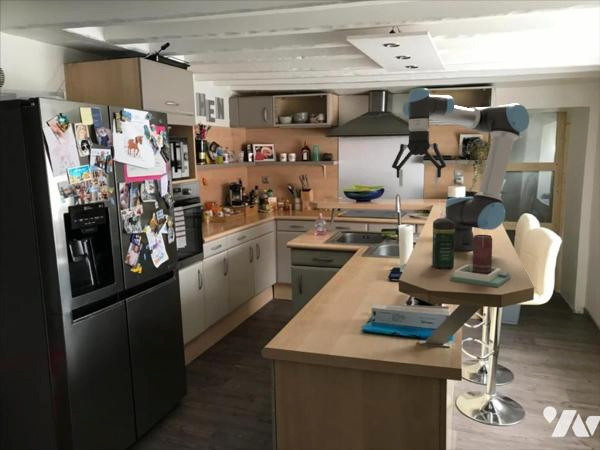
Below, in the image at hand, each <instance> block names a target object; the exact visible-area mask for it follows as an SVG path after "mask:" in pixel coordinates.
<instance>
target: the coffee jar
mask: <svg viewBox="0 0 600 450" xmlns="http://www.w3.org/2000/svg"><path fill="white" fill-rule="evenodd" d="M454 240H455V223H454V222H452V221H450V220H448V219H446V217H445V218H443V217H442V218H436V219H435V220H433V222H432V251H431V252H432V253H431V255H432V256H431V264H432V266H433V267H434V268H437V269H443V270H447V269H453V268H454V266H455V251H454Z"/></svg>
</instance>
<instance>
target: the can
mask: <svg viewBox="0 0 600 450" xmlns="http://www.w3.org/2000/svg"><path fill="white" fill-rule="evenodd" d="M492 257H493V236H492V235H489V234H476V235H474V238H473V250H472V265H473V270H472V273H478V274H486V275H488V274H490V273H491V268H492V265H493V264H492V263H493V259H492Z"/></svg>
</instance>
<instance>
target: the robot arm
mask: <svg viewBox="0 0 600 450" xmlns="http://www.w3.org/2000/svg"><path fill="white" fill-rule="evenodd" d="M408 94H409V95H408V100H406V101H405V102H404V103H403V105H402V113H403V116H405V117H406V118H407V119H408V130H409V131H408V144H405V143H400V146H399V151H398V153H397V155H396V156H395V159H394V160H393V163H392V165H391V168H393V169H395V170H396V178H397V179H398V183H399V184H398V186H399V188H401V187H403V184H404V183H403V182H404V181H403V179H404V177H403V172H404V170H403V169H402V168H403V166H404V165H405V164H406V163H407V161H408V160H410V158H411V157H412V156H424V155H425V156H426V157H427V159H429V161H430V162H431V163H432V164H433V165H434V166H435V167H436V169H434V187H435V188H436V187H437V188H438V187H439V179H440V178H441V177H442V169H444V168H446V167H447V163H446V162H445V160H444V158H443V156H442V154H441V152H440V151H439V145H438V142H433V143H430V131H428V130H429V129H430V121H436V122H442V123H447V124H453V125H459V126H463V127H464V128H466V129H468V130H472V131H477V132H480V133H481V132H482V133H486V134H487V133H488V134H489V135H490V136H491V138H492V139H491V143H490V146H489V147H490V148H489V151H488V155H487V157H486V162H485V166H484V171H483V173H482V174H483V175H482V176H481V177H482V178H481V182H480V186H479V189H478V192H476V193H475V194H474V195H473V196H464V197H452V198H448V199H447V200H446V201H445V218H446V219H448V220H450V221H452V222H454V223H455V240H454V252H467V251H473V238H474V236H475V235H474V232H473V231H474V230H473V228H475V229H481V230H484V231H486V230H489V231H491V230H492V231H494V230H496V229H497V228H498V227H500V226H502V224H503V223H504V220H505V217H506V208H505V206H504V204H502V203H503V199H502V198H501V193H502V188H503V185H504V180H505V178H506V173H507V169H508V164H509V161H510V159H511V158H510V157H511V154H512V150H513V146H514V142H515V141H517V140H518V139H519V138H520V133H523V132H524V131H526V129H527V128H528V126H529V124H530V115H529V112H528V110H527V108H526V107H525V106H524V105H523V104H520V103H508V104H500V105H499V104H498V105H490V106H483V107H474V106H471V107H469V108H467V107H464V106H460V105H459V106H458V105H456V102H455V99H454V97H452V96H451V95H446V94H431V92H430V89H429V88H424V87H423V88H421V87H420V88H413V89H410V91H409V93H408ZM430 147H431V149H432V150H433V151H434V153H435V155H436V157H437V159H435V157H433V155H432V154H431V153H430V152H429V149H430ZM406 149H408V153H407V154H406V155H405V157H404V158H403V159H402V160H401V157H402V156H403V154H404V152H405V150H406ZM400 160H401V162H400ZM437 160H438V161H439V163H438V161H437Z"/></svg>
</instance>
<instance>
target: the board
mask: <svg viewBox="0 0 600 450" xmlns="http://www.w3.org/2000/svg"><path fill="white" fill-rule="evenodd" d="M472 270H473V264H464V265H462V266H461V267H459V268H457V269H456V270H453V271H454V272H453V275H450V277H449V280H450V281H453V282H459V283H465V284H466V283H467V284H473V285H479V286H487V287H493V288H499V287H500V286H501V285H503V284H504V283H506V282H507V281H508V280H510V279H511V274H510V273H509V272H506V271H505V272H504V271H502V268H501V267H500V268H499V267H492V268H491V273H490V274H488V275H486V274H478V273H472Z"/></svg>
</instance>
